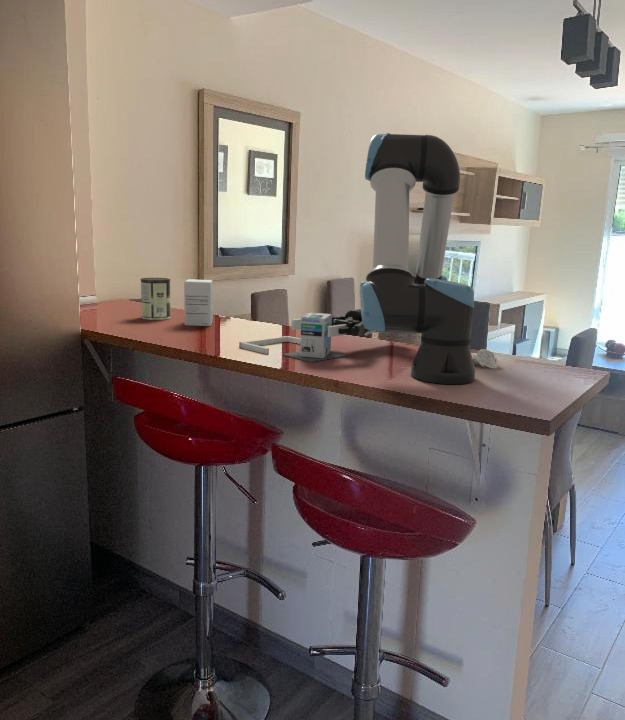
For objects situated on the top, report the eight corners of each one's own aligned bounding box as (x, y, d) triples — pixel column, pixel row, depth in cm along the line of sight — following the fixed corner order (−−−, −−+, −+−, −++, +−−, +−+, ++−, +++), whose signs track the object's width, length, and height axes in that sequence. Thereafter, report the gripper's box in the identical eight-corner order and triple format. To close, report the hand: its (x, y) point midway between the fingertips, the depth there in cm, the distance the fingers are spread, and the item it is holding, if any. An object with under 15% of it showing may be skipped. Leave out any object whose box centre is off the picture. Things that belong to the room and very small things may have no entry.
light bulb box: (323, 359, 168) (325, 318, 166) (299, 357, 170) (300, 316, 168) (331, 351, 179) (332, 313, 176) (307, 349, 180) (309, 311, 178)
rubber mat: (347, 356, 175) (347, 354, 175) (311, 362, 166) (311, 361, 165) (318, 349, 183) (318, 348, 183) (282, 355, 173) (282, 354, 173)
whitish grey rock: (481, 365, 175) (482, 347, 175) (504, 367, 171) (505, 349, 170) (466, 367, 170) (466, 348, 169) (489, 369, 165) (490, 350, 165)
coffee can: (156, 315, 237) (155, 276, 234) (176, 318, 232) (176, 279, 229) (134, 317, 228) (134, 278, 225) (155, 321, 223) (155, 280, 220)
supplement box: (187, 321, 225) (187, 278, 222) (213, 322, 225) (213, 279, 222) (183, 325, 216) (183, 281, 213) (210, 326, 216) (210, 282, 213)
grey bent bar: (314, 346, 187) (314, 341, 187) (266, 354, 174) (266, 348, 174) (287, 340, 195) (287, 335, 195) (239, 347, 182) (239, 342, 181)
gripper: (394, 340, 178) (344, 349, 163) (329, 328, 195) (278, 335, 180) (396, 314, 177) (346, 320, 162) (330, 304, 194) (278, 308, 179)
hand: (310, 328), depth 171 cm, fingers open, 13 cm apart
